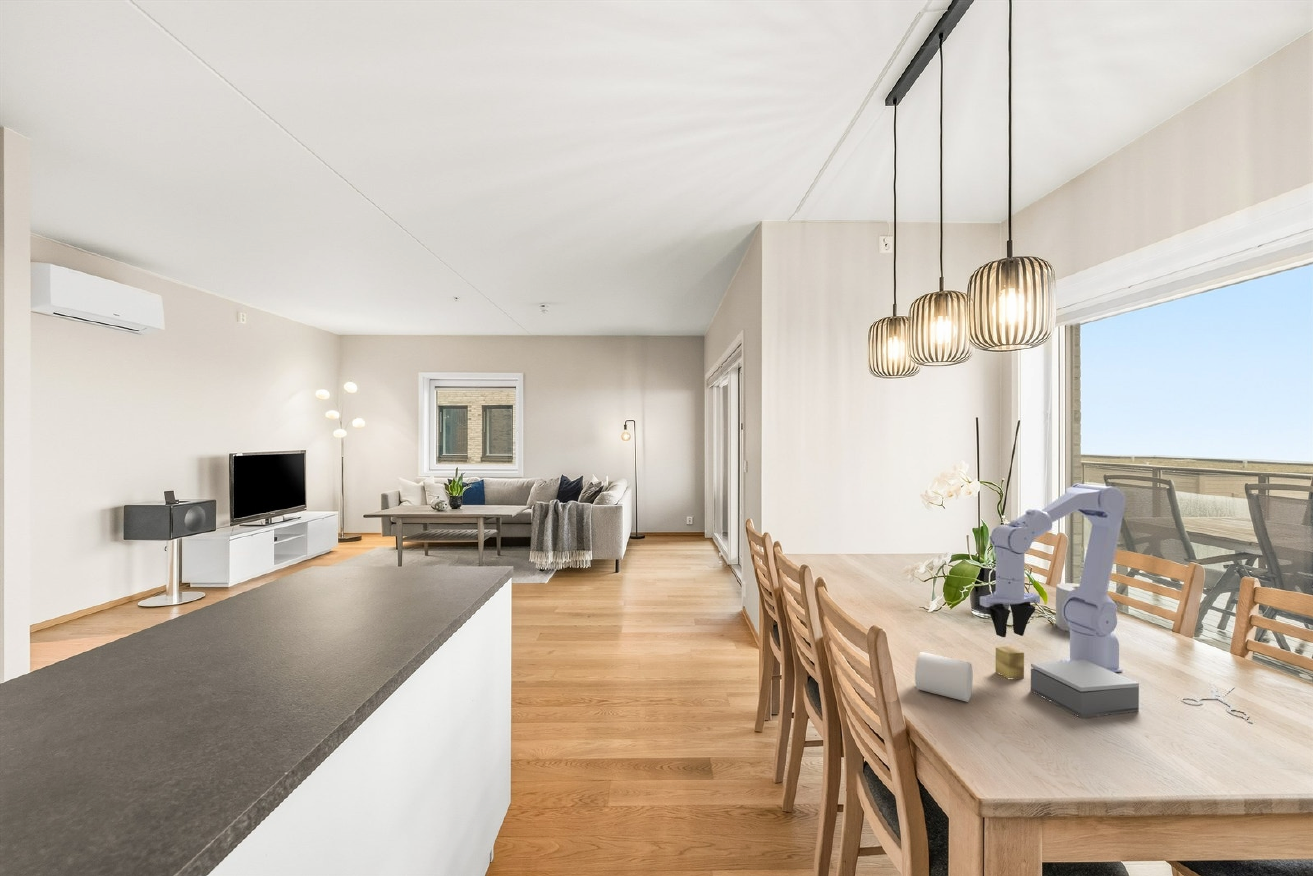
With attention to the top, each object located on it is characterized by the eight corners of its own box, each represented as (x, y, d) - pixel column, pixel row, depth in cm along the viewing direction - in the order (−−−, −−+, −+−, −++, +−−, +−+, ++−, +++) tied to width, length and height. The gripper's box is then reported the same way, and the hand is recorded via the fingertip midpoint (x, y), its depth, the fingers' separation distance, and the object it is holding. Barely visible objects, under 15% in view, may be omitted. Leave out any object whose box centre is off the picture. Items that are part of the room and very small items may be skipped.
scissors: (1178, 703, 119) (1190, 674, 132) (1178, 707, 119) (1190, 678, 132) (1252, 722, 111) (1256, 690, 124) (1252, 726, 111) (1256, 693, 124)
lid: (1084, 663, 128) (1084, 659, 128) (1138, 687, 116) (1138, 683, 116) (1030, 667, 125) (1030, 663, 125) (1081, 691, 113) (1081, 687, 113)
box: (1084, 685, 128) (1084, 663, 128) (1138, 711, 116) (1138, 687, 116) (1030, 691, 125) (1030, 668, 125) (1080, 718, 113) (1081, 693, 113)
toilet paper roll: (1059, 631, 162) (1059, 591, 162) (1052, 619, 172) (1052, 581, 172) (1112, 638, 156) (1112, 596, 156) (1101, 625, 167) (1101, 585, 167)
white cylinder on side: (966, 708, 118) (966, 669, 118) (914, 694, 124) (914, 658, 124) (976, 687, 127) (976, 652, 127) (927, 675, 134) (927, 641, 133)
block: (1010, 671, 136) (1010, 646, 136) (1023, 678, 132) (1024, 652, 132) (995, 672, 135) (995, 647, 135) (1008, 679, 131) (1009, 653, 131)
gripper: (1022, 571, 138) (1022, 627, 139) (970, 574, 136) (970, 631, 136) (1047, 578, 131) (1047, 637, 132) (992, 582, 129) (992, 642, 129)
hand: (1009, 635), depth 133 cm, fingers open, 4 cm apart
